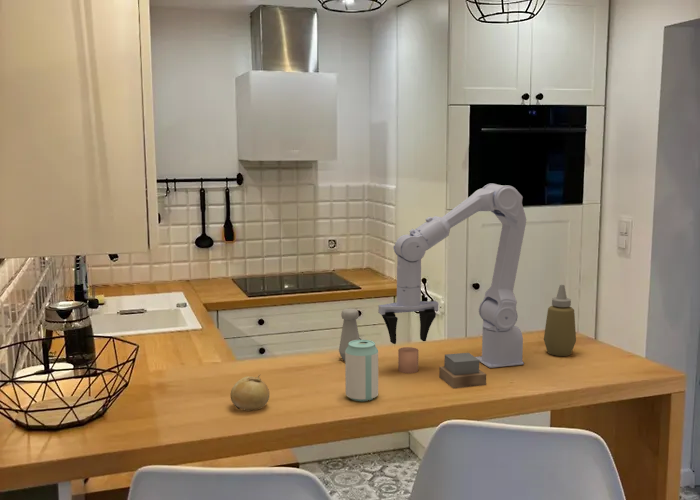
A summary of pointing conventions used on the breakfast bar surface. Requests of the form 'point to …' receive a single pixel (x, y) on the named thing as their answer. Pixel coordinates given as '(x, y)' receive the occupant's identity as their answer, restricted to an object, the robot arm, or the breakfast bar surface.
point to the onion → (250, 393)
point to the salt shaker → (348, 329)
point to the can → (361, 370)
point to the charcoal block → (461, 363)
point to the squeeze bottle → (560, 325)
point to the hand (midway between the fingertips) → (408, 341)
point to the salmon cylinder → (408, 360)
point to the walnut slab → (462, 378)
